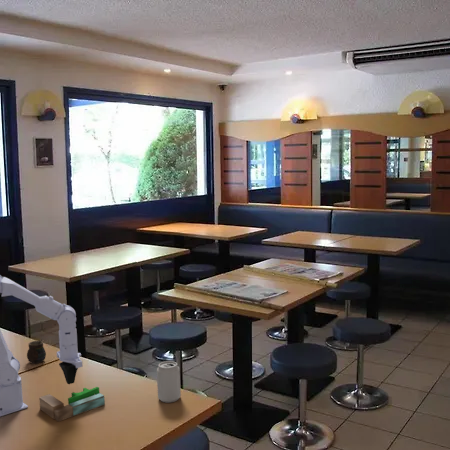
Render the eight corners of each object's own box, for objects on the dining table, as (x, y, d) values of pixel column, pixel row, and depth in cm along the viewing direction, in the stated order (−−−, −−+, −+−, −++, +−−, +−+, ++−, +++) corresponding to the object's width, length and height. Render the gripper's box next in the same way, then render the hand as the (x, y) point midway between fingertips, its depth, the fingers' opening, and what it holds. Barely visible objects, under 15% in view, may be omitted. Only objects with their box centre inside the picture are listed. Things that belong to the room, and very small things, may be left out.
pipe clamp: (93, 397, 184) (92, 384, 184) (99, 400, 182) (99, 387, 181) (64, 409, 176) (63, 395, 175) (70, 412, 173) (70, 398, 173)
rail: (58, 421, 167) (57, 411, 166) (54, 418, 169) (53, 409, 168) (104, 405, 178) (104, 395, 177) (100, 402, 180) (100, 393, 179)
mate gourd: (36, 357, 224) (34, 334, 223) (50, 360, 221) (49, 336, 220) (23, 363, 218) (21, 339, 216) (38, 366, 215) (36, 341, 213)
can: (185, 398, 181) (184, 363, 180) (168, 405, 175) (166, 369, 174) (170, 392, 186) (169, 358, 185) (153, 399, 181) (151, 364, 179)
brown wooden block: (53, 419, 169) (53, 406, 168) (40, 409, 176) (39, 397, 176) (65, 414, 171) (64, 402, 171) (51, 405, 179) (50, 393, 178)
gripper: (90, 345, 178) (92, 385, 179) (69, 335, 188) (71, 373, 190) (69, 350, 173) (72, 391, 175) (49, 340, 184) (52, 379, 185)
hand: (70, 382), depth 182 cm, fingers closed
